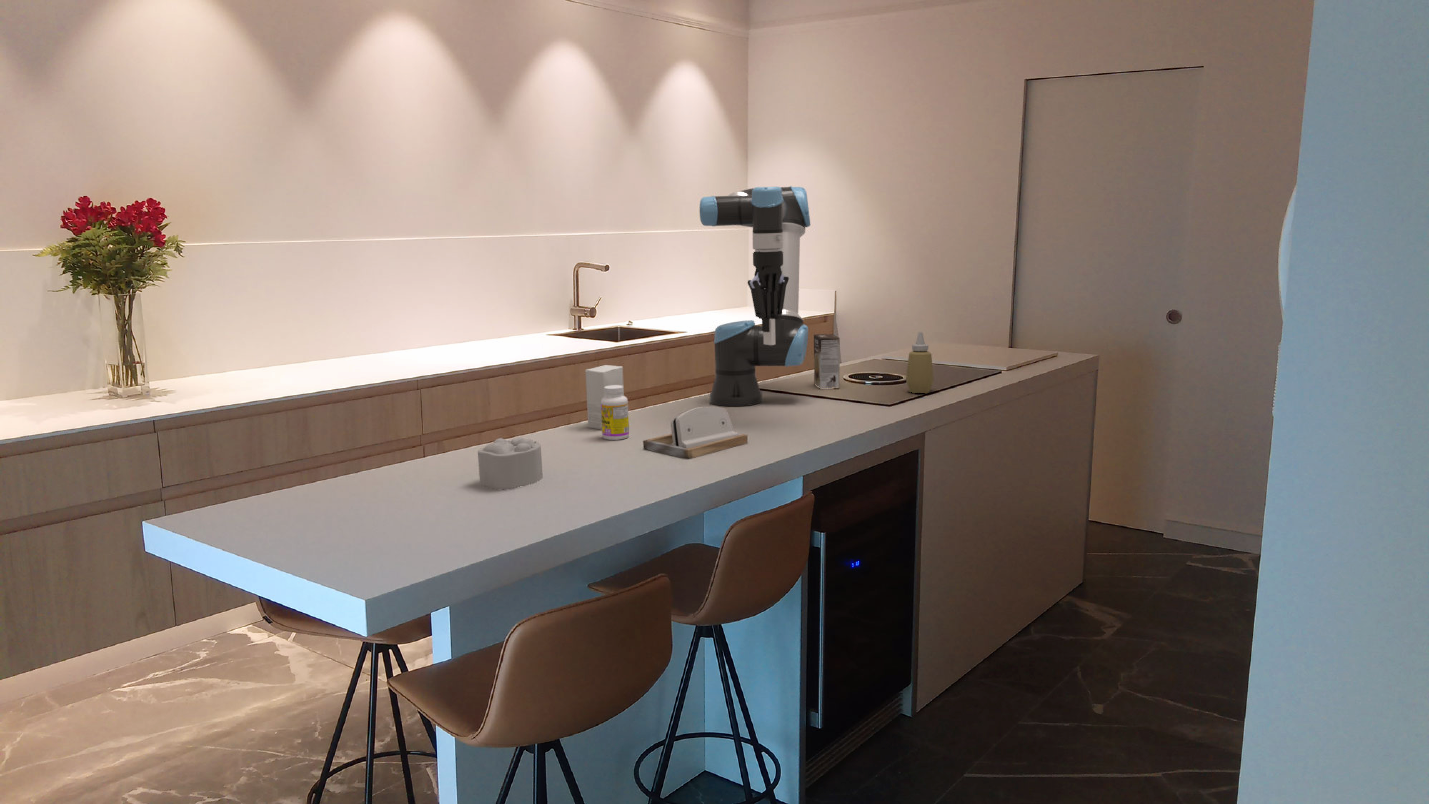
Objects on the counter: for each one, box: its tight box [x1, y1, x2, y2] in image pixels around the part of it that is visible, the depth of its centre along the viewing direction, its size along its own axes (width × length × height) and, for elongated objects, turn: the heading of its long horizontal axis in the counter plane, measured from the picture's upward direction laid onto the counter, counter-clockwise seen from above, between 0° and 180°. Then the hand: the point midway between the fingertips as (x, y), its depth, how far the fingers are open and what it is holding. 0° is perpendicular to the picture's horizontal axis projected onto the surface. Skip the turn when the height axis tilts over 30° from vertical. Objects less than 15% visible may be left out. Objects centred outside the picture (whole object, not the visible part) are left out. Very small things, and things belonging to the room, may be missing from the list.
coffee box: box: [813, 333, 841, 388], centre depth 298 cm, size 9×6×16 cm
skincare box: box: [584, 364, 625, 431], centre depth 249 cm, size 8×7×16 cm
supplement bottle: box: [601, 385, 630, 441], centre depth 236 cm, size 7×7×13 cm
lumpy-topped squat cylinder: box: [477, 436, 544, 491], centre depth 200 cm, size 10×13×9 cm
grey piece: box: [670, 406, 739, 449], centre depth 228 cm, size 17×5×10 cm, turn 129°
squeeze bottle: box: [905, 332, 935, 394], centre depth 285 cm, size 8×8×18 cm
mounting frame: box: [642, 433, 749, 460], centre depth 226 cm, size 15×20×2 cm
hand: (769, 344), depth 243 cm, fingers closed
